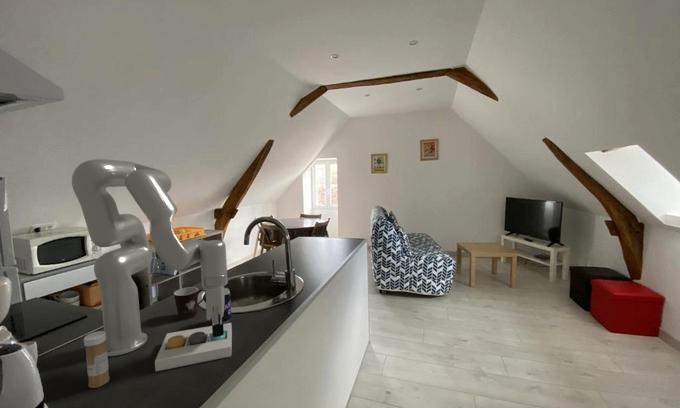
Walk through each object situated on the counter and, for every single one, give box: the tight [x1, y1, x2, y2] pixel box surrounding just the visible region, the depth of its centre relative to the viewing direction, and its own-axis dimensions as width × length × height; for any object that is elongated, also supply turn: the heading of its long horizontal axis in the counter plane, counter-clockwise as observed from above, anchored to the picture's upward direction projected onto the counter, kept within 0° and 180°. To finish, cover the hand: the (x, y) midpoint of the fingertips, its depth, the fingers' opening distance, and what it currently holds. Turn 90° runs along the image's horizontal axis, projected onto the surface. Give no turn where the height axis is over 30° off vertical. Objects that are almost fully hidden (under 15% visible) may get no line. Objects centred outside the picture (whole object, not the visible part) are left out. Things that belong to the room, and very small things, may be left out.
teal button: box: [210, 332, 225, 342], centre depth 96 cm, size 4×4×2 cm
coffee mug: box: [173, 286, 206, 320], centre depth 118 cm, size 12×9×10 cm
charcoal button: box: [189, 332, 205, 346], centre depth 94 cm, size 4×4×2 cm
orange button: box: [168, 335, 184, 350], centre depth 92 cm, size 4×4×2 cm
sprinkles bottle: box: [83, 330, 111, 389], centre depth 79 cm, size 5×5×13 cm
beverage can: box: [222, 287, 232, 324], centre depth 112 cm, size 6×6×12 cm
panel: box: [154, 322, 233, 372], centre depth 94 cm, size 20×16×3 cm
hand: (218, 334), depth 96 cm, fingers closed
